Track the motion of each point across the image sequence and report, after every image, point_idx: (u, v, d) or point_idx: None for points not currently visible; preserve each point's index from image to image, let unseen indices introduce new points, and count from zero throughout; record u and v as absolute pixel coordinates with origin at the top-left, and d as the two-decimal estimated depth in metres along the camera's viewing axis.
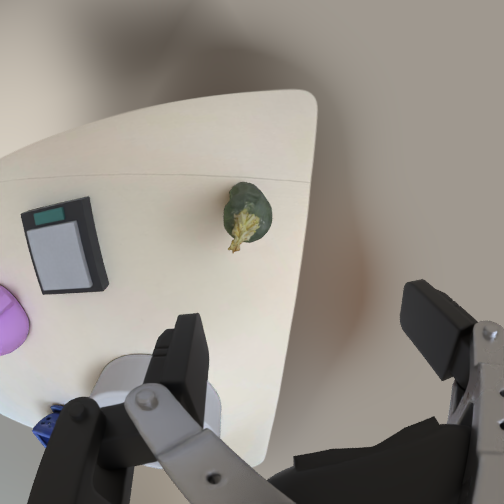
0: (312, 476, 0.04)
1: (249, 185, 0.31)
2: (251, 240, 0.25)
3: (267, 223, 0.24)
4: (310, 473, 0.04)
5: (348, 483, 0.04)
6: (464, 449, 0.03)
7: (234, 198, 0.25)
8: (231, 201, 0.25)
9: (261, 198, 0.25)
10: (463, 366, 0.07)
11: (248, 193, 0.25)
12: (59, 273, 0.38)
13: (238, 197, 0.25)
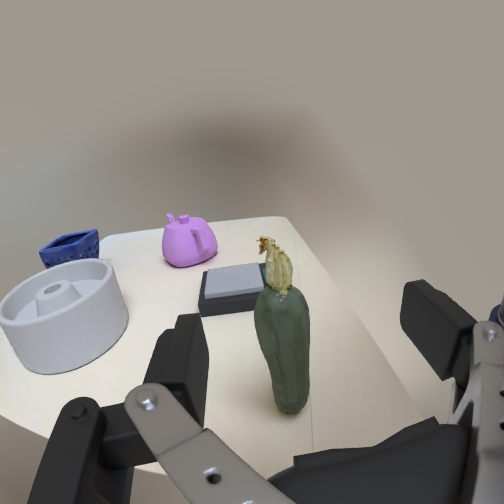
0: (312, 476, 0.04)
1: None
2: (259, 299, 0.22)
3: (279, 308, 0.21)
4: (310, 473, 0.04)
5: (348, 483, 0.04)
6: (464, 449, 0.03)
7: None
8: None
9: (305, 315, 0.22)
10: (463, 366, 0.07)
11: (308, 309, 0.23)
12: (220, 278, 0.54)
13: None
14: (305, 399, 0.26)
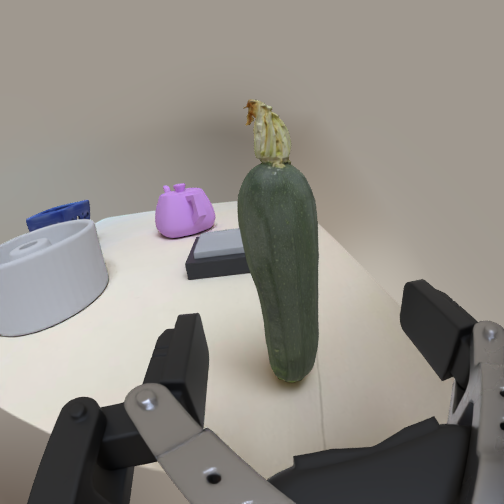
0: (312, 476, 0.04)
1: None
2: (244, 180, 0.16)
3: (271, 183, 0.14)
4: (310, 473, 0.04)
5: (348, 483, 0.04)
6: (464, 449, 0.03)
7: None
8: None
9: (310, 202, 0.15)
10: (463, 366, 0.07)
11: (314, 201, 0.16)
12: (213, 239, 0.47)
13: None
14: (312, 356, 0.19)
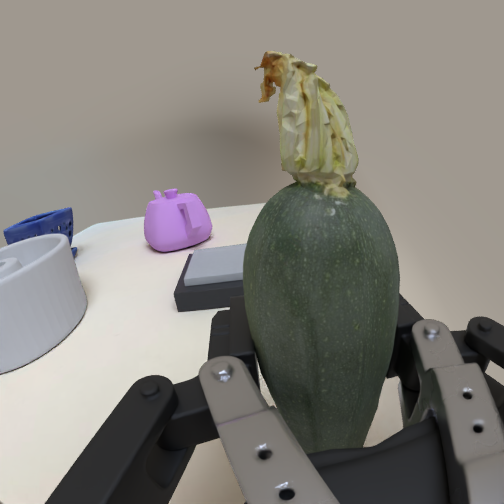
0: None
1: None
2: (258, 220, 0.07)
3: (326, 237, 0.06)
4: None
5: (348, 483, 0.04)
6: (439, 460, 0.03)
7: None
8: None
9: (397, 272, 0.07)
10: (404, 365, 0.08)
11: None
12: (209, 260, 0.39)
13: None
14: None
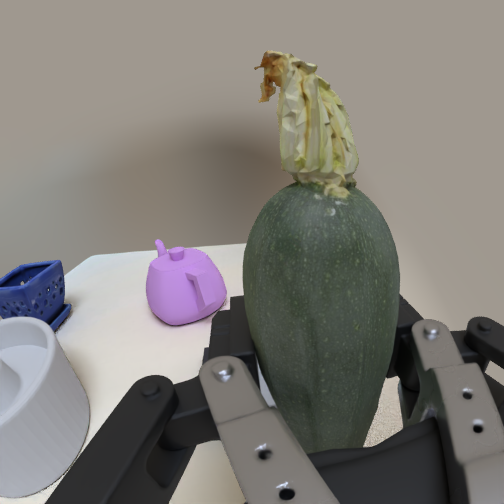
0: None
1: None
2: (258, 220, 0.07)
3: (326, 238, 0.06)
4: None
5: (348, 483, 0.04)
6: (439, 460, 0.03)
7: None
8: None
9: (397, 272, 0.07)
10: (404, 365, 0.08)
11: None
12: None
13: None
14: None
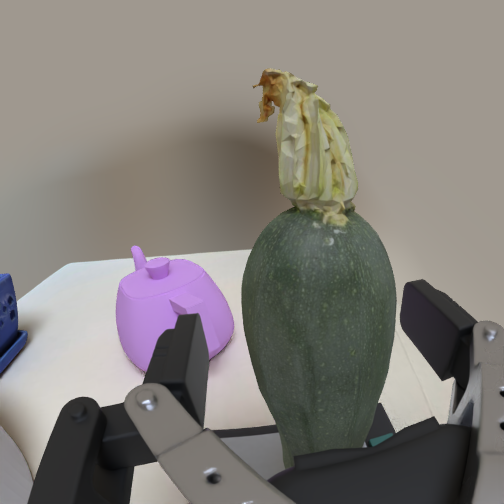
0: (312, 476, 0.04)
1: None
2: (257, 246, 0.07)
3: (324, 268, 0.06)
4: (310, 473, 0.04)
5: (348, 483, 0.04)
6: (464, 449, 0.03)
7: None
8: None
9: (394, 297, 0.07)
10: (463, 366, 0.07)
11: None
12: None
13: None
14: None
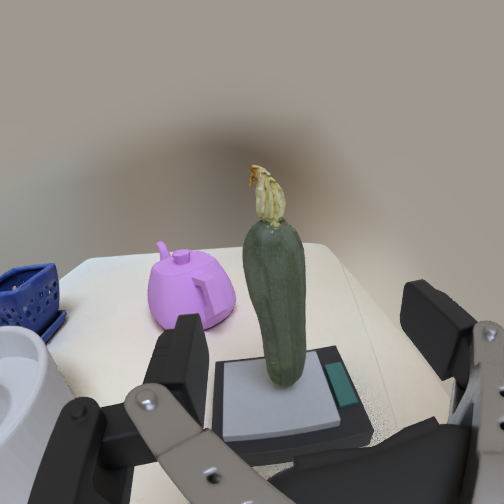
0: (312, 476, 0.04)
1: (305, 332, 0.23)
2: (248, 234, 0.20)
3: (269, 240, 0.19)
4: (310, 473, 0.04)
5: (348, 483, 0.04)
6: (464, 449, 0.03)
7: None
8: None
9: (299, 252, 0.20)
10: (463, 366, 0.07)
11: (303, 249, 0.21)
12: (251, 391, 0.26)
13: None
14: (301, 366, 0.23)
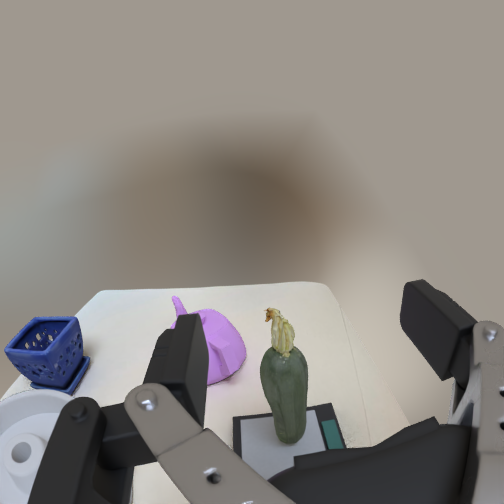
0: (312, 476, 0.04)
1: None
2: (264, 358, 0.25)
3: (281, 369, 0.23)
4: (310, 473, 0.04)
5: (348, 483, 0.04)
6: (464, 449, 0.03)
7: None
8: None
9: (303, 373, 0.24)
10: (463, 366, 0.07)
11: None
12: (263, 445, 0.30)
13: None
14: (302, 433, 0.28)
